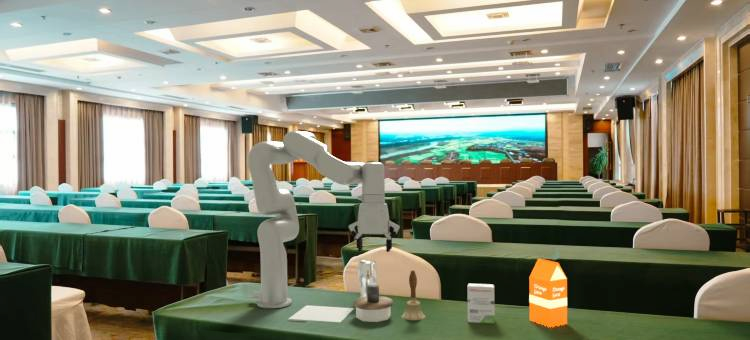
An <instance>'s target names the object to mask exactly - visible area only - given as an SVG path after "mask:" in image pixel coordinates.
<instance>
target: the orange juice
mask: <svg viewBox="0 0 750 340" xmlns="http://www.w3.org/2000/svg"><path fill="white" fill-rule="evenodd" d="M528 279H529V286H528V287H529V294H528V295H529V296H528V297H529V298H528V303H529V321H530V322H533V323H535V322H536V323H535V324H538V325H540V324H541V325H540V326H543V325H544V326H543V327H546V326H547V327H546V328H549V327H550V328H549V329H552V328H556V327H555V326H557V327H561V326H565V324H566V325H568V277H567V276H566V274H565V272H564V271H563V269H562V267H561V265H560V263H559V262H557V261H552V260H548V259H543V258H539V257H538V258H537V260H536V261H535V265H534V267H533V269H532V271H531V273H530V275H529V277H528ZM560 325H561V326H560ZM551 327H552V328H551Z"/></svg>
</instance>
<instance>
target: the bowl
mask: <svg viewBox="0 0 750 340" xmlns="http://www.w3.org/2000/svg"><path fill="white" fill-rule="evenodd" d="M391 307H392V306H391ZM391 307H389V308H385V309H378V310H367V309H360V308H357V307H355V318H356V319H358V320H360V321H362V322H369V323H372V322H373V323H379V322H383V321H388V320H389V319H390V317H391V315H392V314H391Z"/></svg>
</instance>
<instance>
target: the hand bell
mask: <svg viewBox="0 0 750 340" xmlns="http://www.w3.org/2000/svg"><path fill="white" fill-rule="evenodd" d="M408 283H409V287H410V300H408V301H407V302H406V306H405V307H406V308H405V310H404V312H403V314H402V315H401V318H402V319H404V320H408V321H420V320H424V319H425V318H426V315H425V314H424V313H423V311H422V307H421V302H420V301H418V300H417V295H416V294H417V293H416V291H417V290H416V289H417V285H418V284H417V283H418V278H417V274H416V271H415V270H410V274H409V278H408Z"/></svg>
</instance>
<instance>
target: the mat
mask: <svg viewBox="0 0 750 340" xmlns="http://www.w3.org/2000/svg"><path fill="white" fill-rule="evenodd" d="M353 310H355V307H354V308H353V307H339V306H325V305H324V306H323V305H322V306H321V305H307V304H306V305H305V306H304V307H302V308H301V309H300V310H298V311H297V312H295V313H294V314H293V315H291V316H290V317H289V318H288V320H287V321H289V322H290V321H293V322H303V323H304V322H305V323H306V322H308V321H313V322H314V321H315V322H316V321H317V322H328V323H329V322H330V323H341V322H342V321H344V319H345V318H347V316H348V315H349V314H350V313H351V312H352V311H353Z"/></svg>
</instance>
